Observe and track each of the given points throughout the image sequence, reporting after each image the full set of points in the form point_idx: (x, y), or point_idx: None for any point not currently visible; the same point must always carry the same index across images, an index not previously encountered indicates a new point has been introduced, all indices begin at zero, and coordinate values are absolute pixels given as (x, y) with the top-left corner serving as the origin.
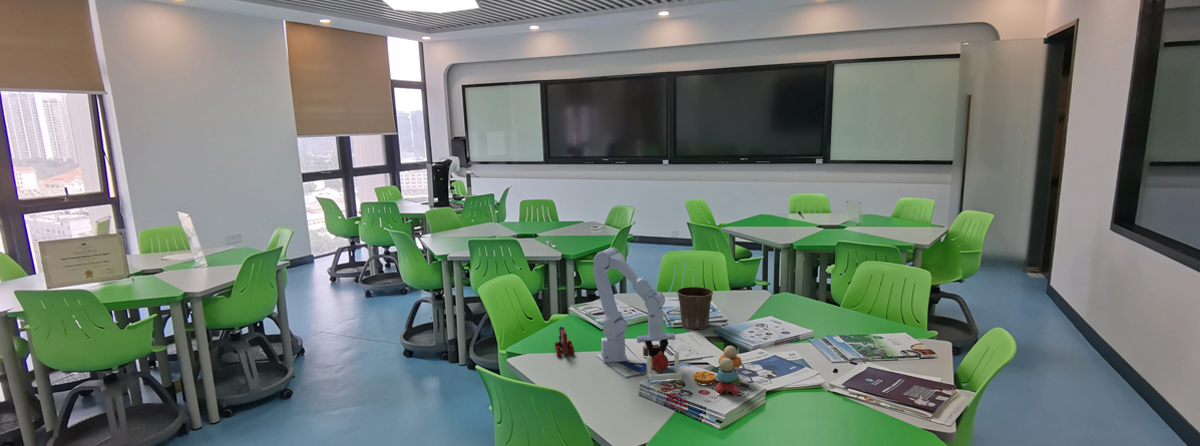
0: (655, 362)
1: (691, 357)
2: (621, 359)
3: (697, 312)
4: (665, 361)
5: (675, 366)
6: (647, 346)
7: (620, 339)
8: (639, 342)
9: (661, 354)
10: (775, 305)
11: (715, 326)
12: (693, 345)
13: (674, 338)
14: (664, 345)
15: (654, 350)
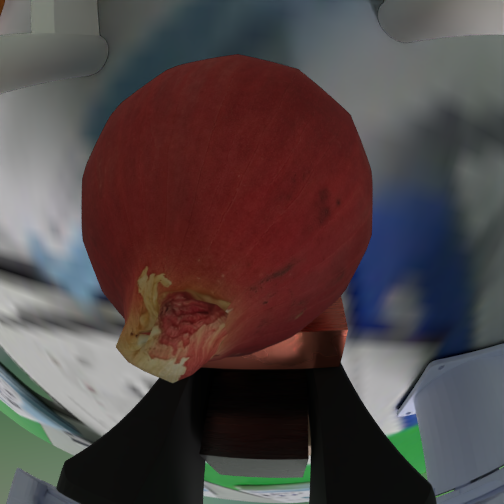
0: (347, 113)
1: (59, 338)
2: (458, 366)
3: None
4: (120, 105)
5: (30, 36)
6: (431, 487)
7: (477, 473)
8: (496, 502)
9: (144, 256)
10: (33, 430)
11: (82, 438)
12: (93, 406)
13: (18, 483)
14: (111, 472)
15: (277, 428)
